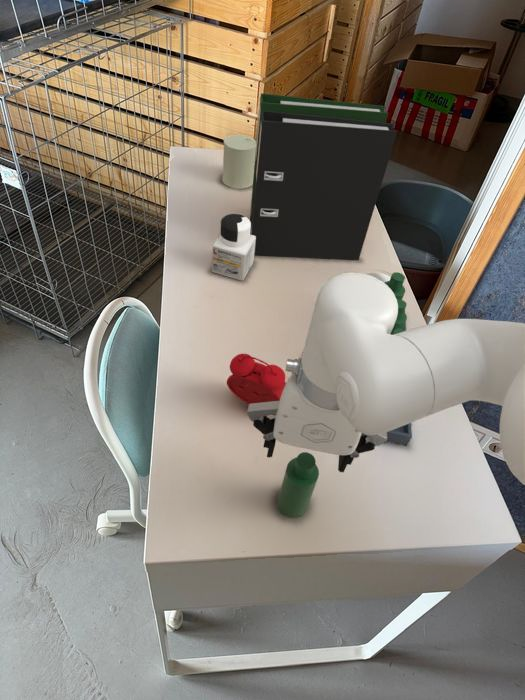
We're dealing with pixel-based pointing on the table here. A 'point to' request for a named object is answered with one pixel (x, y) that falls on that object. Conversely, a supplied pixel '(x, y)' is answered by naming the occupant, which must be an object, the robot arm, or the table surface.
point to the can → (238, 161)
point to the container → (234, 247)
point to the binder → (317, 176)
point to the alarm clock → (255, 380)
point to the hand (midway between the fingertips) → (305, 455)
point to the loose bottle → (298, 485)
